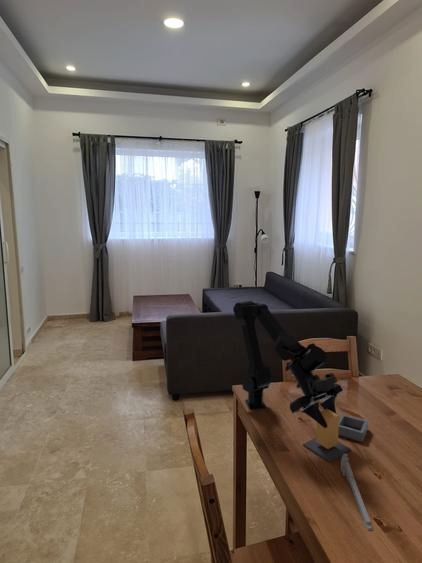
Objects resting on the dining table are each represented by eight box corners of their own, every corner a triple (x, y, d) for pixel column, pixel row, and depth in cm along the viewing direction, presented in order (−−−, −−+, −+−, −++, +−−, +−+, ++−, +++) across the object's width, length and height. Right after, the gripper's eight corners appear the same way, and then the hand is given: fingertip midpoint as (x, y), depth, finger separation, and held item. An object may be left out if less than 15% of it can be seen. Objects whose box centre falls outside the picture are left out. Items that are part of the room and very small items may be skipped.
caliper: (340, 471, 105) (341, 450, 104) (344, 471, 105) (345, 450, 104) (367, 531, 85) (369, 506, 84) (372, 531, 85) (374, 506, 84)
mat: (302, 445, 116) (302, 443, 116) (324, 434, 122) (324, 433, 122) (329, 462, 108) (329, 460, 108) (351, 450, 114) (351, 448, 113)
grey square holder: (334, 434, 122) (335, 425, 122) (341, 422, 129) (341, 414, 129) (362, 442, 118) (363, 433, 117) (367, 429, 125) (368, 421, 124)
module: (315, 441, 115) (317, 413, 114) (325, 437, 118) (327, 408, 116) (327, 449, 112) (329, 419, 110) (337, 444, 114) (339, 415, 113)
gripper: (298, 373, 109) (327, 425, 102) (339, 359, 119) (368, 406, 112) (278, 388, 117) (304, 438, 110) (318, 374, 127) (344, 419, 120)
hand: (331, 424), depth 112 cm, fingers closed on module, 4 cm apart
